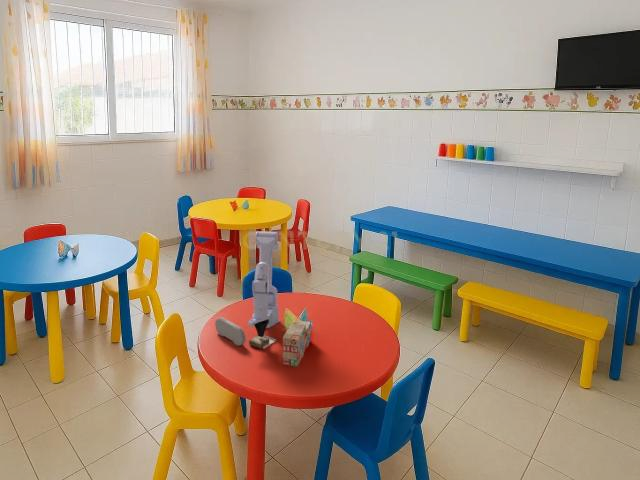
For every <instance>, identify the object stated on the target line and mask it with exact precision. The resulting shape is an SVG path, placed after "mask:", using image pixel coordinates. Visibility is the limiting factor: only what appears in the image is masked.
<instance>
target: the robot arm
mask: <svg viewBox="0 0 640 480" xmlns="http://www.w3.org/2000/svg"><path fill="white" fill-rule="evenodd" d="M254 241H255V245H256V248H257V249H259V257H258V258H259V260H258V261H259V262H258V263H257V264H256V265H255V271H254V280H252V284H251V290H252V297H253V313H252V315H251V316H252V317H251V319H250V320H249V321H248V322H247V327H249V328H253V327H255V330H256V332H257V333H256V334H257V335H258V336H260V337H263V336H264V335H265V333H266V329H270V328H271V327H273V326H275V325H276V324H278V323H280V322H281V319H279V318H280V315H279V314H280V311H279V310H280V309H279V305H278V289H277V288H276V287H275V286H274V285H272V281H273V280H272V279H273V253H274V251H275V250H278V248H279V232H278V231H259V230H257V231H255V236H254Z"/></svg>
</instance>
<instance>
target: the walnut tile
mask: <svg viewBox="0 0 640 480" xmlns="http://www.w3.org/2000/svg"><path fill="white" fill-rule="evenodd" d="M268 343H269V338H266V337H260V336H258V334H257V335H255V336H254V337H252V338H250V339H249V340H248V345H250V346H252V347H255V348H257V349H263V348H262V347H264V346H265V345H267V344H268Z"/></svg>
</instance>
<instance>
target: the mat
mask: <svg viewBox="0 0 640 480" xmlns="http://www.w3.org/2000/svg"><path fill="white" fill-rule="evenodd" d="M263 337H266V338H269V343H268V344H267V345H265V346H264V347H262V348H261V349H266V348H268V347H269V346H271V345H272V344H274V343H275V342H277V339H276V338H273V337H270V336H268V335H265V334H264V336H263Z"/></svg>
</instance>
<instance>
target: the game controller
mask: <svg viewBox="0 0 640 480" xmlns="http://www.w3.org/2000/svg"><path fill="white" fill-rule="evenodd" d="M214 326H215V329H216V330H215V331H216V332H217V334H218V335H219V336H220V337H226V338H227V339H229V340H231V341H232V342H233V344H234V345H235V346H238V347H240V346H242V345H244V344H245V343H246V338H247V337H246V333H245V331H244V330H243V328H242V327H241V326H239V325H237V324H236V323H234V322H232V321H231V320H228V319H227V318H224V317H223V316H221V317H218V318H216V320H215V325H214Z"/></svg>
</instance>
